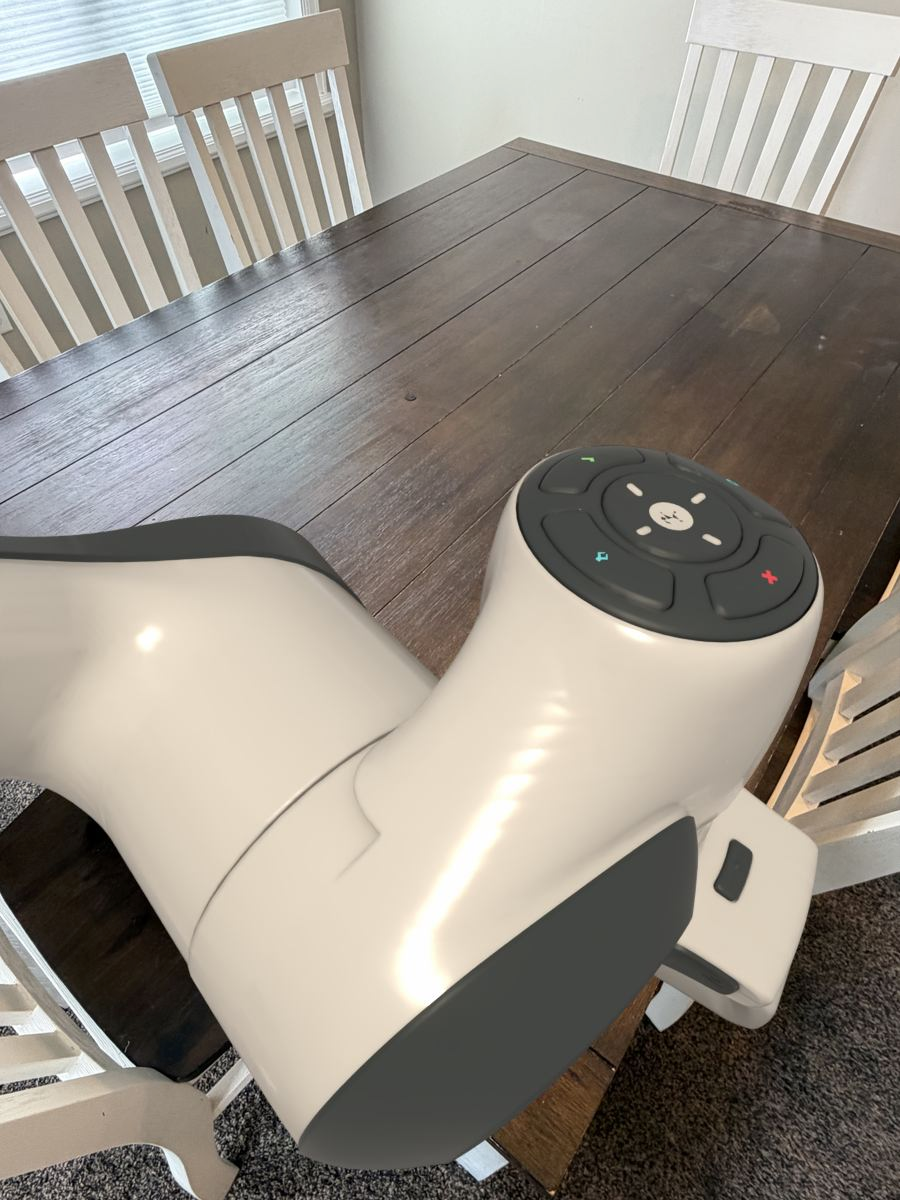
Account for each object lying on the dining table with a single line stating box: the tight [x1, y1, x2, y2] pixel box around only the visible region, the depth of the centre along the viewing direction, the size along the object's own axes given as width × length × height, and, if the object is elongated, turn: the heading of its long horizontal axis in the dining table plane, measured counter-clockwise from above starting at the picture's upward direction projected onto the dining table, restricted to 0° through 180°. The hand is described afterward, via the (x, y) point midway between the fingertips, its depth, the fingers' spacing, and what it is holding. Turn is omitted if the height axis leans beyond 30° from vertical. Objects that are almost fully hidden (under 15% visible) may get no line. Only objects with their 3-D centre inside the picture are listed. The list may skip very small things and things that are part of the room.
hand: (547, 905), depth 40 cm, fingers open, 8 cm apart
